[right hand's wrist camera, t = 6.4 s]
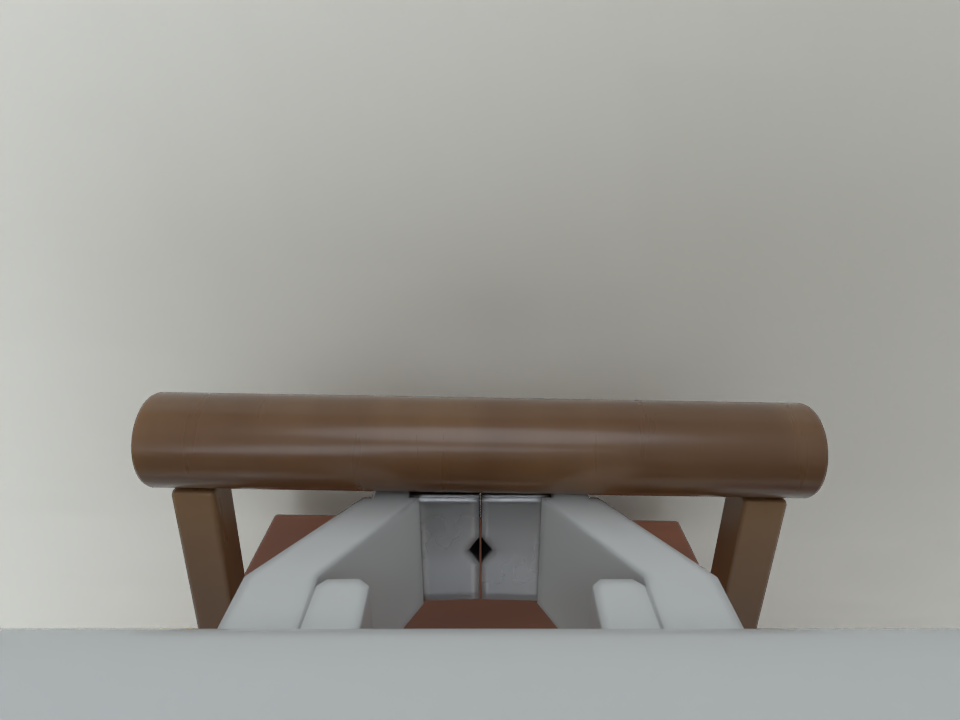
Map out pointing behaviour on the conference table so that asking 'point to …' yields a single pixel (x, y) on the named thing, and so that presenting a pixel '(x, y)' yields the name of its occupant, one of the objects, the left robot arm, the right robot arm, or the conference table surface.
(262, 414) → the drawer
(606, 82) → the conference table surface
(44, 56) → the conference table surface
